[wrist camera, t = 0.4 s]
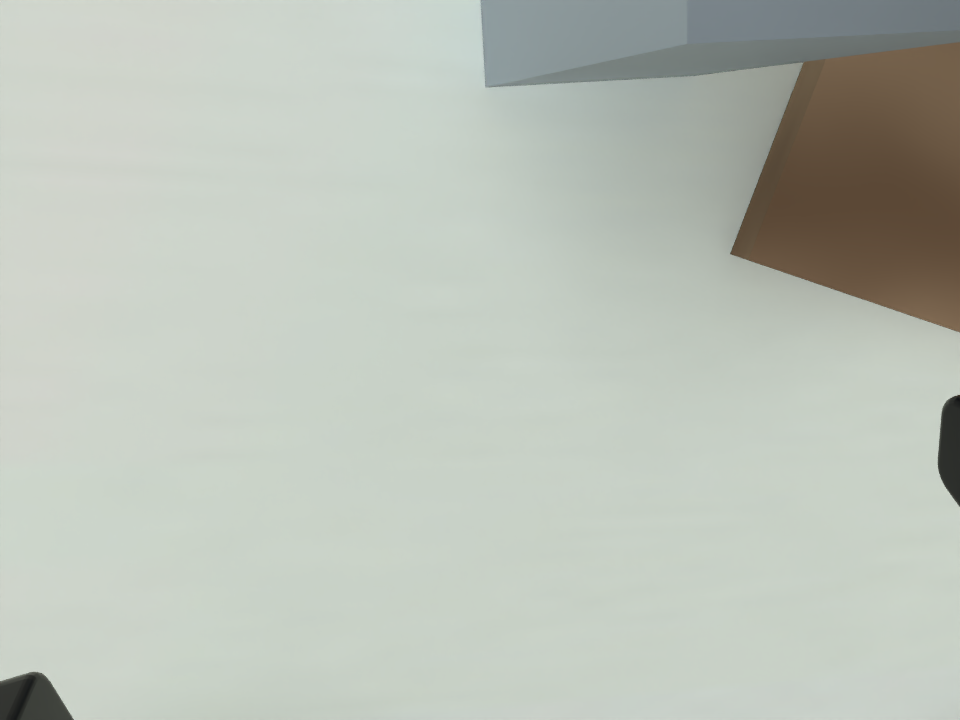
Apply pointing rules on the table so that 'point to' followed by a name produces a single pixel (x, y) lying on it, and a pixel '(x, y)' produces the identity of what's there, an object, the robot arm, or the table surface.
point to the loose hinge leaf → (694, 35)
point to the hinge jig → (867, 182)
